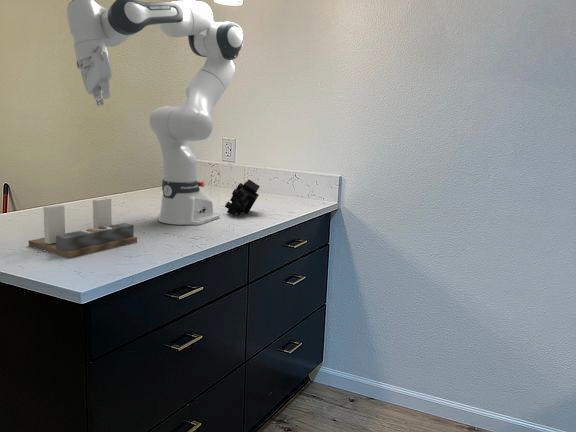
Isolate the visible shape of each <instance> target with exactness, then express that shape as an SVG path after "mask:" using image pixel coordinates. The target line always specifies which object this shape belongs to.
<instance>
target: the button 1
mask: <svg viewBox="0 0 576 432" xmlns="http://www.w3.org/2000/svg"><path fill="white" fill-rule="evenodd" d="M65 220H66V216H65V205H62V204H54V205H46V206H43V225H44V226H43V229H44V232H43V234H44V238H45V243H47V244H52V243H56V236H59V235H64V234H66V221H65Z"/></svg>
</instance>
